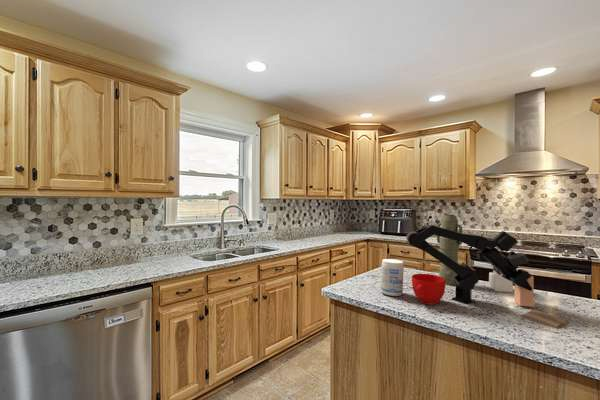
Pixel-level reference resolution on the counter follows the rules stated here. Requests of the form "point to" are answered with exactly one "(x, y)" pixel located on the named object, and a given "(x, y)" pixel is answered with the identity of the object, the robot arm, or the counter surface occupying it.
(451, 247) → the thermos
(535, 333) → the counter surface
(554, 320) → the walnut board
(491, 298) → the counter surface
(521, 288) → the terracotta block
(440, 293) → the ceramic cup
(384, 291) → the supplement tub
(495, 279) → the medicine bottle
